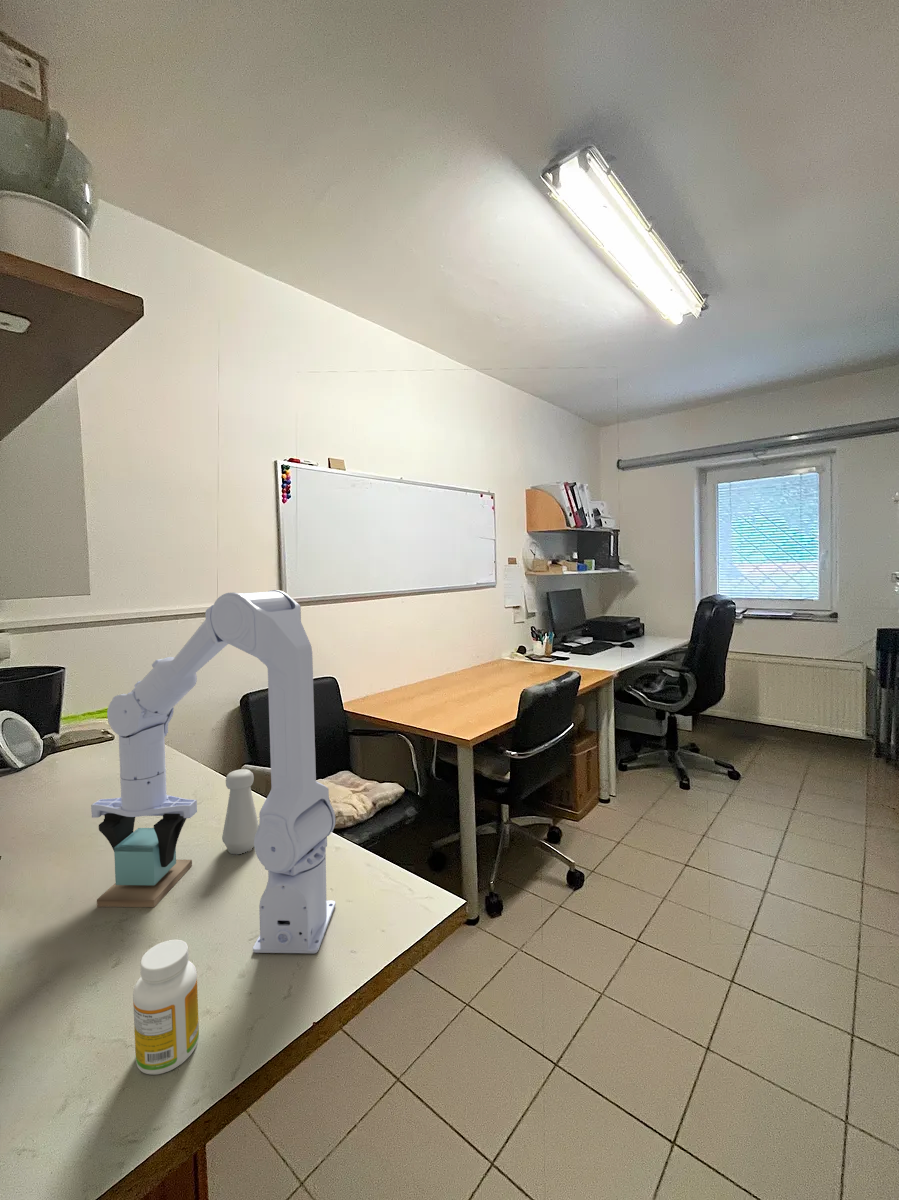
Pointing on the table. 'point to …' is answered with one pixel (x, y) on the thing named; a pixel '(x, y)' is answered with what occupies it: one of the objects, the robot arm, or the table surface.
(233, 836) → the salt shaker
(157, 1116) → the table surface
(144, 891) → the post base
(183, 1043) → the supplement bottle
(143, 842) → the teal lidded box
